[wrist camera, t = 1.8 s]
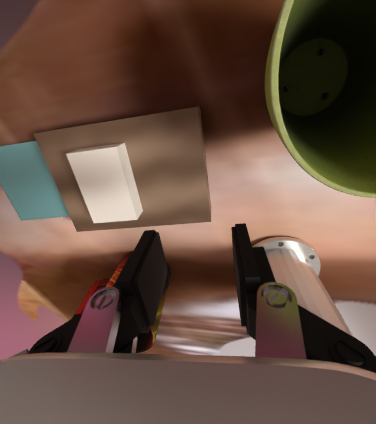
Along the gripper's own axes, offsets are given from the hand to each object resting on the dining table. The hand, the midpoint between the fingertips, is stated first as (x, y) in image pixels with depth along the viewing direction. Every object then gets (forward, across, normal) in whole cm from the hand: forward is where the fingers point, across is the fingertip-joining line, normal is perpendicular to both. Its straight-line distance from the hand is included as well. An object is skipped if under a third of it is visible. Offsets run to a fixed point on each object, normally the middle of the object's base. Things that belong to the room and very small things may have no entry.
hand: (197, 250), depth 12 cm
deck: (+19, +10, 0) cm, 22 cm away
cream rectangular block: (+15, +12, 0) cm, 19 cm away
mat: (+19, +26, 0) cm, 33 cm away
